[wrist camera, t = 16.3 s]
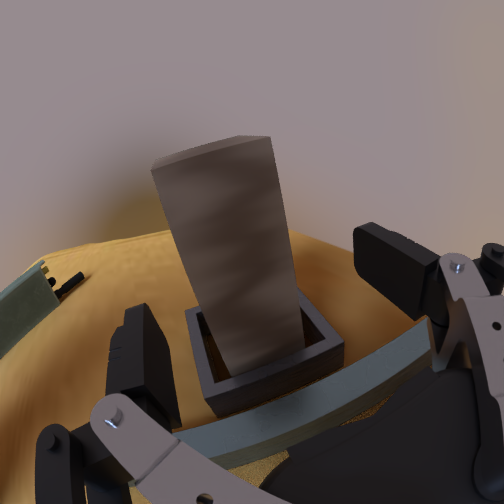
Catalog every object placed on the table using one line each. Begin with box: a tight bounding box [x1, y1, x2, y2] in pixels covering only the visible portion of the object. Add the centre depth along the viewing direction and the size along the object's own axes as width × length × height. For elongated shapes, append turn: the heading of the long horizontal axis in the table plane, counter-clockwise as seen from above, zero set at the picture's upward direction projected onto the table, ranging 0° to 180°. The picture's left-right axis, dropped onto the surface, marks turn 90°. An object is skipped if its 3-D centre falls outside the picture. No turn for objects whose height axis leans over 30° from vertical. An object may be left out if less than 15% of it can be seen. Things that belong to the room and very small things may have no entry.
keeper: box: [128, 287, 432, 487], centre depth 17 cm, size 22×12×2 cm, turn 108°
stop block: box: [151, 136, 305, 378], centre depth 16 cm, size 5×5×14 cm
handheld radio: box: [0, 260, 85, 359], centre depth 25 cm, size 7×3×25 cm
